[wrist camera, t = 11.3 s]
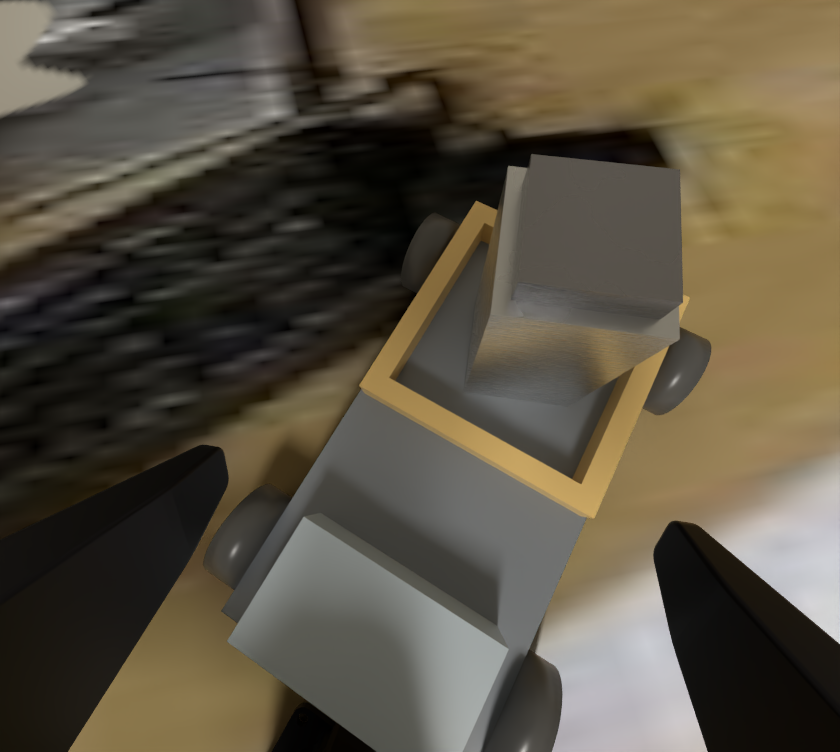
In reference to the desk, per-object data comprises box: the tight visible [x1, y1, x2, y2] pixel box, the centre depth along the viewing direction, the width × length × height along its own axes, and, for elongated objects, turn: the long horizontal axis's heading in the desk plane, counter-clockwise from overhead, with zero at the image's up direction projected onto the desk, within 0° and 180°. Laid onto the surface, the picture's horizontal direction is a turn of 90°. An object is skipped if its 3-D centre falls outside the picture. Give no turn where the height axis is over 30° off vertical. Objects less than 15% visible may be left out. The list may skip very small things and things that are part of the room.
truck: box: [203, 201, 711, 752], centre depth 19 cm, size 23×15×6 cm, turn 150°
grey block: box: [464, 154, 683, 407], centre depth 15 cm, size 5×5×10 cm
